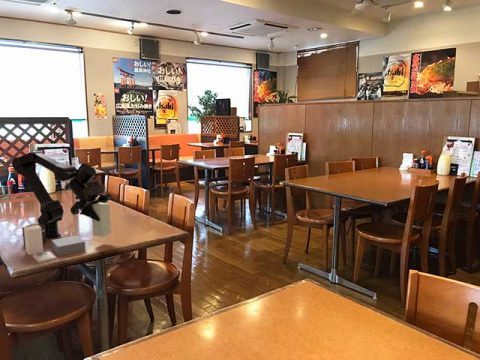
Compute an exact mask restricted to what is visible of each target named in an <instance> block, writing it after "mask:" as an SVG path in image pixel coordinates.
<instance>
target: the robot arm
mask: <svg viewBox="0 0 480 360" xmlns="http://www.w3.org/2000/svg"><path fill="white" fill-rule="evenodd" d="M11 165H12V168H13V169H14V170H15V172H16V173H17V174H18V175H20V176H22V177H24V179H25V180H26V182H27V184H28V186H29V187H30V189H31V191H32V192H33V194H34V196H35V197H36V199H37V200H38V203H39V205H40V208H39V211H40V215H39V217H38V218H37V222H38V223H37V224H44V229H45V239H51V238H56V237H60V236H62V234H61V233H60V232H59V224H58V222H59V221H63V217H64V216H63V215H64V212H65V211H64V209H63V208H64V207H63V205H61V202H60V201H59V200H58V199H56V200H54V199H53V198H52V197H51V195H50V194H49V192H48V190H47V189H46V187H45V185H44V184H43V182H42V180H41V179H40V177H39V175H38V173H37V171H36V169H37V165H39V166H41V167H43V168H45V169H47V170H49V171H51V172H52V173H53V174H54V177H55V178H57V179H58V180H59V181H60V182H66V183H65V187H64V188H65V189H64V190H65V191H68V190H71V192H72V193H73V194H74V195H75V197H74V199H75V200H76V202H75V203H73V204H72V206H71V207H70V213H71V214H72V215H73V216H75V215H78V214H79V215H83V216H85V217H87V218H90V219H91V220H92V219H94V220H96V221H100V218H99V217H98V215H97V214H96V213H95V211H94V210H93V207H92V205H93V204H96V203H99V202H100V203H109V200H111V198H112V196H111V194H109V193H107V192H106V193H105V190H106V186H105V185H104V184H103V183H102V182H100V183H98V184H96V185H94V186H93V187H91V186H90V187H88V186H87V185H86V184H89V182H91V180H92V179H93V178H94V177H95V176H96V174H97V171H96V169H95V168H94V167H92V166H91V165H88V164H87V163H86V162H84V163H81V164H80V166H79V167H78V168H76V167H75V166H74V165H70V164H65V163H61V162H59V161H57V160H55V159H53V158H51V157H50V156H48V155H46V154H44V153H43V152H42V151H40V150H34V151H30V152H28V153H27V154H24V155H21V156H16V157H13V159H12V161H11ZM67 181H69V182H67ZM101 193H102V194H101Z"/></svg>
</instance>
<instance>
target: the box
mask: <svg viewBox="0 0 480 360" xmlns="http://www.w3.org/2000/svg"><path fill="white" fill-rule="evenodd" d="M34 225H38V226H40V227H41V230H42V242H46V239H47V238H45V229H44V224H38V223H32V224H28V225H26V226H23V227H22V239H23V245H25V235H24V227H28V226H34Z"/></svg>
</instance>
